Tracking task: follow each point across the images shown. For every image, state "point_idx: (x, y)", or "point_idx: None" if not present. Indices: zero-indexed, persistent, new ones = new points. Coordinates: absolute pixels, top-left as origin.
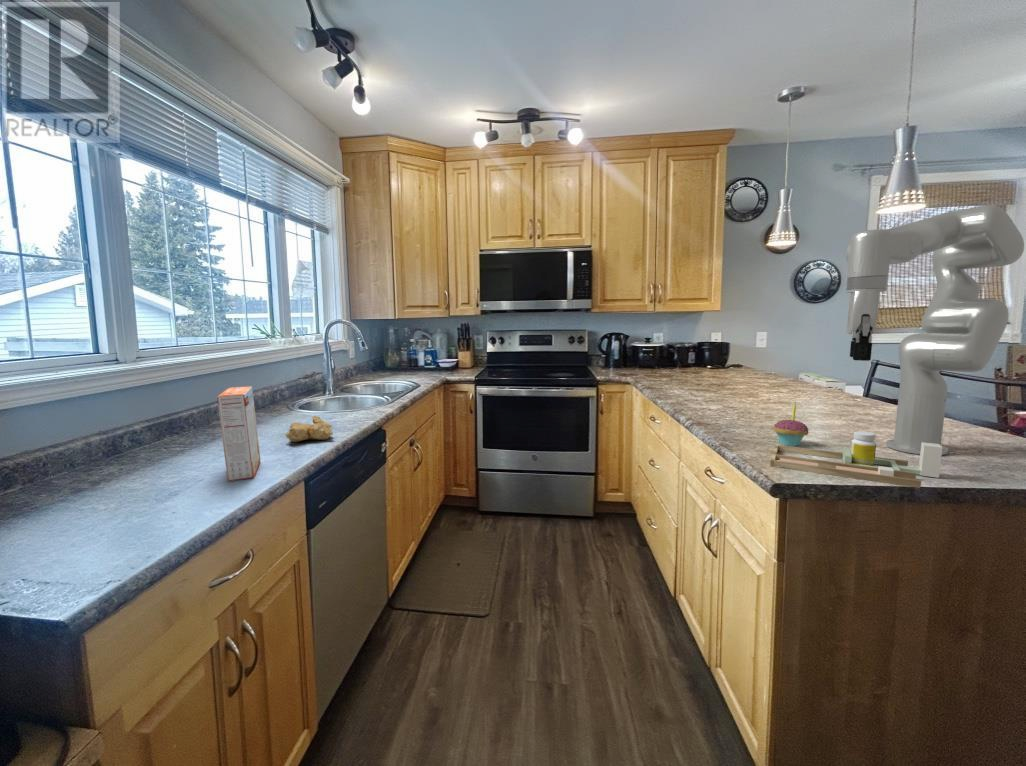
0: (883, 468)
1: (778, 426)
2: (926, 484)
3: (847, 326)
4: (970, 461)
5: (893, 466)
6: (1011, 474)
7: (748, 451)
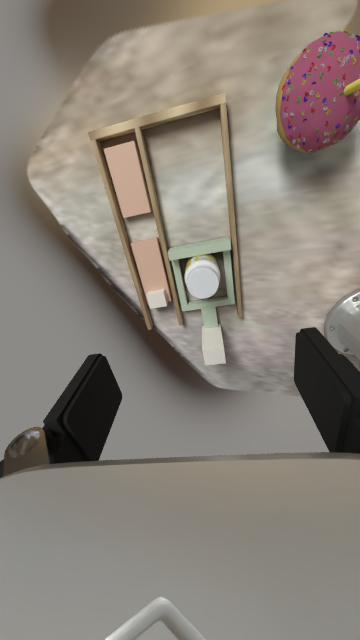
0: (154, 298)
1: (299, 59)
2: (169, 329)
3: (218, 566)
4: None
5: (198, 304)
6: (272, 390)
7: (169, 37)
